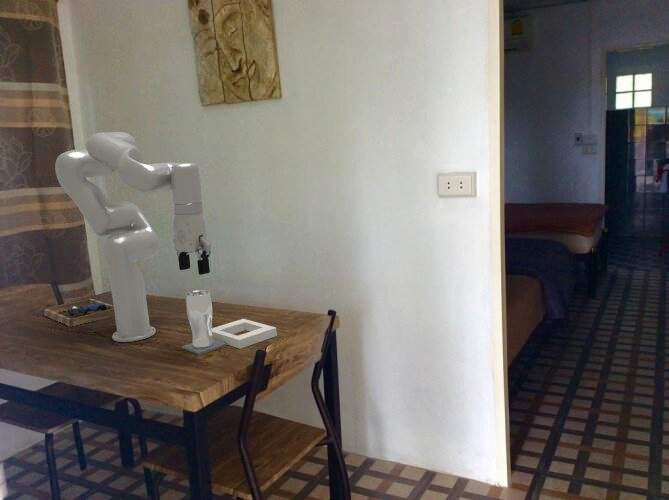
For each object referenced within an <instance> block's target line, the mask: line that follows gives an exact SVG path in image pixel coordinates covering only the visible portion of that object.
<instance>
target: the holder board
mask: <svg viewBox="0 0 669 500" xmlns="http://www.w3.org/2000/svg"><path fill="white" fill-rule="evenodd" d="M245 331H247V332H245ZM241 332H242V334H238V333H241ZM243 332H245V333H243ZM236 334H238V335H236ZM212 336H213V339H215V340H218V341H221V342H224V343H227V346H231V347H232V348H233V347H234V348H237V349H240V350H242V349H244V348H247V347H249V346H253V345H255V344H258V343H260V342H263V341H267V340H270V339H272V338H275V337H277V336H278V333H277V327H275V326H271V325H269V324H268V325H267V324H265V323H261V322H257V321H253V320H250V319H246V318H240V319H238V320H235V321H231V322H228V323H225V324H221V325H218V326H215V327H212Z"/></svg>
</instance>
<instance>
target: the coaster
mask: <svg viewBox="0 0 669 500" xmlns="http://www.w3.org/2000/svg"><path fill="white" fill-rule="evenodd" d="M227 346H228V345H227V343H224V342H221V341H218V340H215V339H214V345H212V346H210V347H207V348H194V347H193V346H192V342H191V343H188V344H185V345H182V346H181V349H182V350H185V351H188V352H191V353H193V354H196V355H199V356H200V355H203V354H206V353H208V352H212V351H215V350H218V349H221V348H224V347H227Z"/></svg>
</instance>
